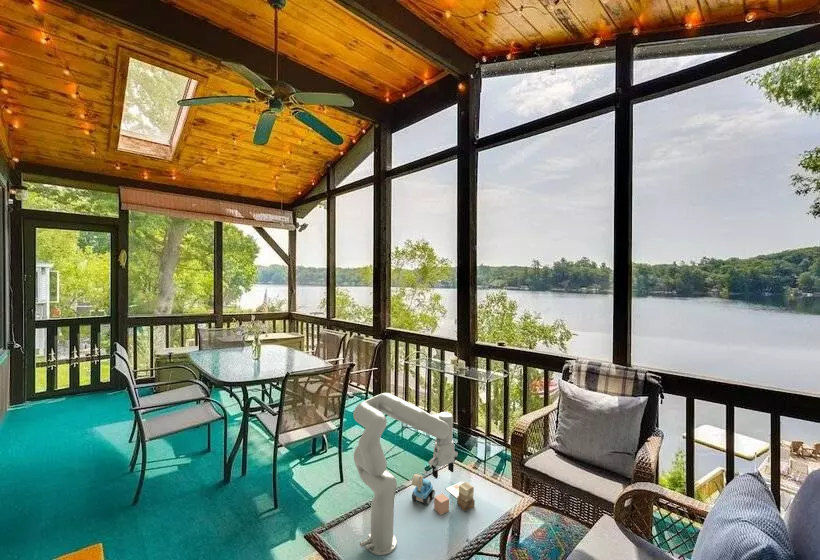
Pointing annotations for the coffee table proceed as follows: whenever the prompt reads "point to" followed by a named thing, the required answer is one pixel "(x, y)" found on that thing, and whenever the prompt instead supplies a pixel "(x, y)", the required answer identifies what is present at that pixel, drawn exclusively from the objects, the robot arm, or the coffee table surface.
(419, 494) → the toy excavator
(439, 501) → the terracotta block
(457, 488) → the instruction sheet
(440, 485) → the coffee table surface
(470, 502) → the walnut base block
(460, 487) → the maple block
